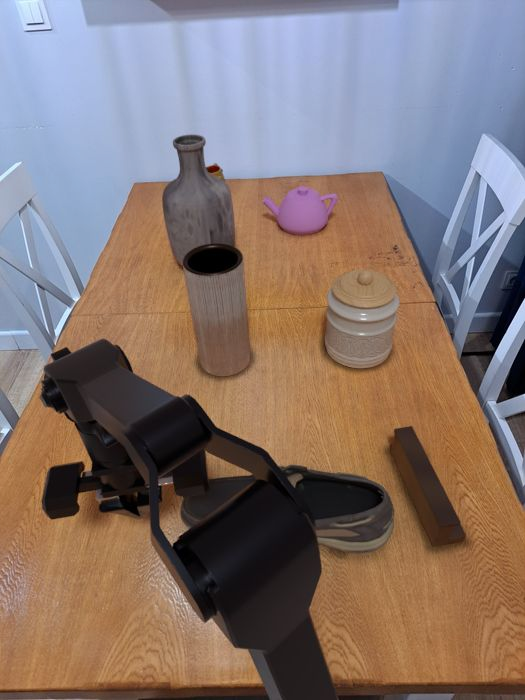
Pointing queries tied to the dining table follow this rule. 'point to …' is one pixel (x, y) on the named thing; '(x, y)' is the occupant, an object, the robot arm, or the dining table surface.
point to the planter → (218, 307)
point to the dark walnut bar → (426, 489)
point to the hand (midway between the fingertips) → (143, 515)
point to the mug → (216, 171)
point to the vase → (196, 202)
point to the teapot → (302, 210)
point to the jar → (361, 318)
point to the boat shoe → (316, 506)
